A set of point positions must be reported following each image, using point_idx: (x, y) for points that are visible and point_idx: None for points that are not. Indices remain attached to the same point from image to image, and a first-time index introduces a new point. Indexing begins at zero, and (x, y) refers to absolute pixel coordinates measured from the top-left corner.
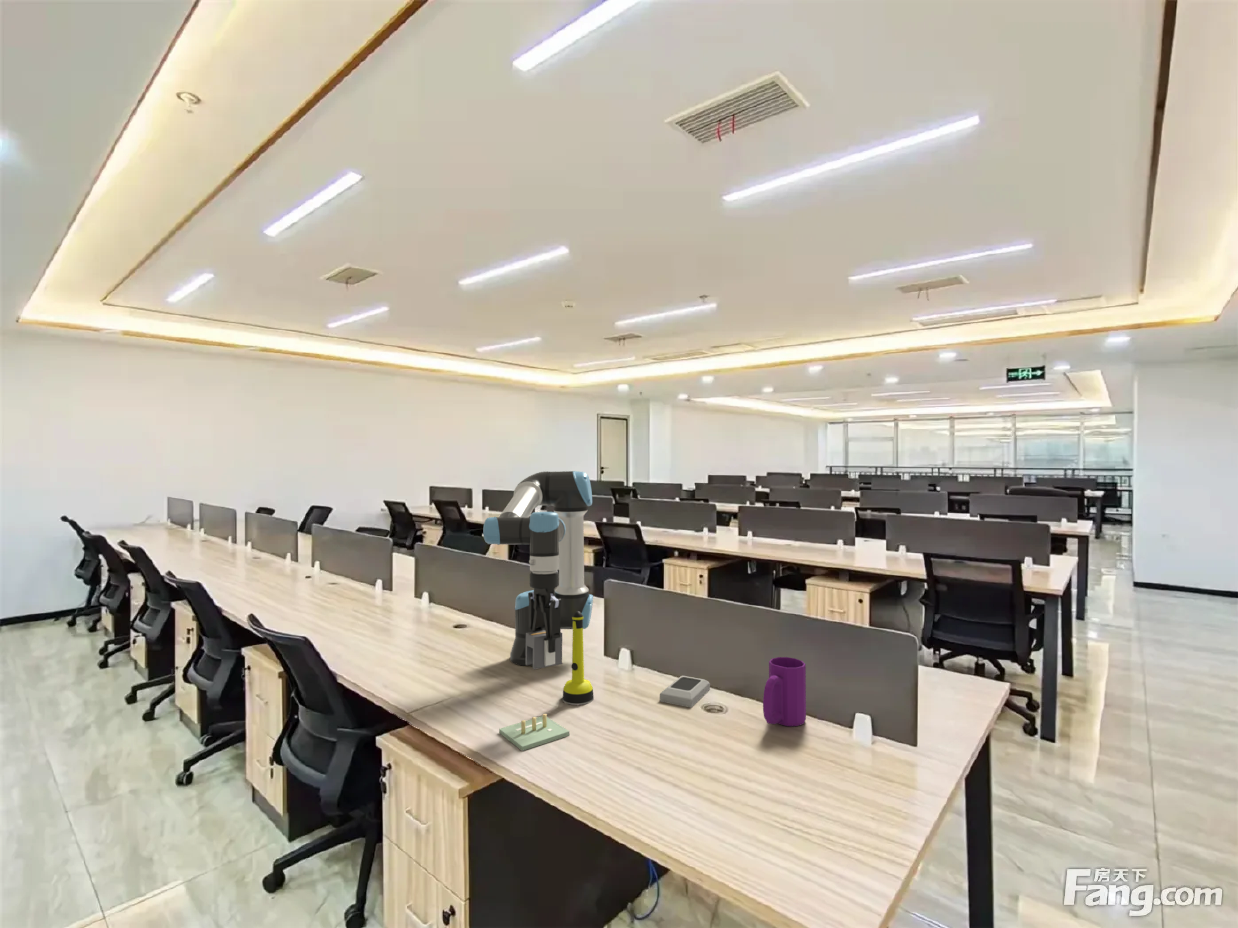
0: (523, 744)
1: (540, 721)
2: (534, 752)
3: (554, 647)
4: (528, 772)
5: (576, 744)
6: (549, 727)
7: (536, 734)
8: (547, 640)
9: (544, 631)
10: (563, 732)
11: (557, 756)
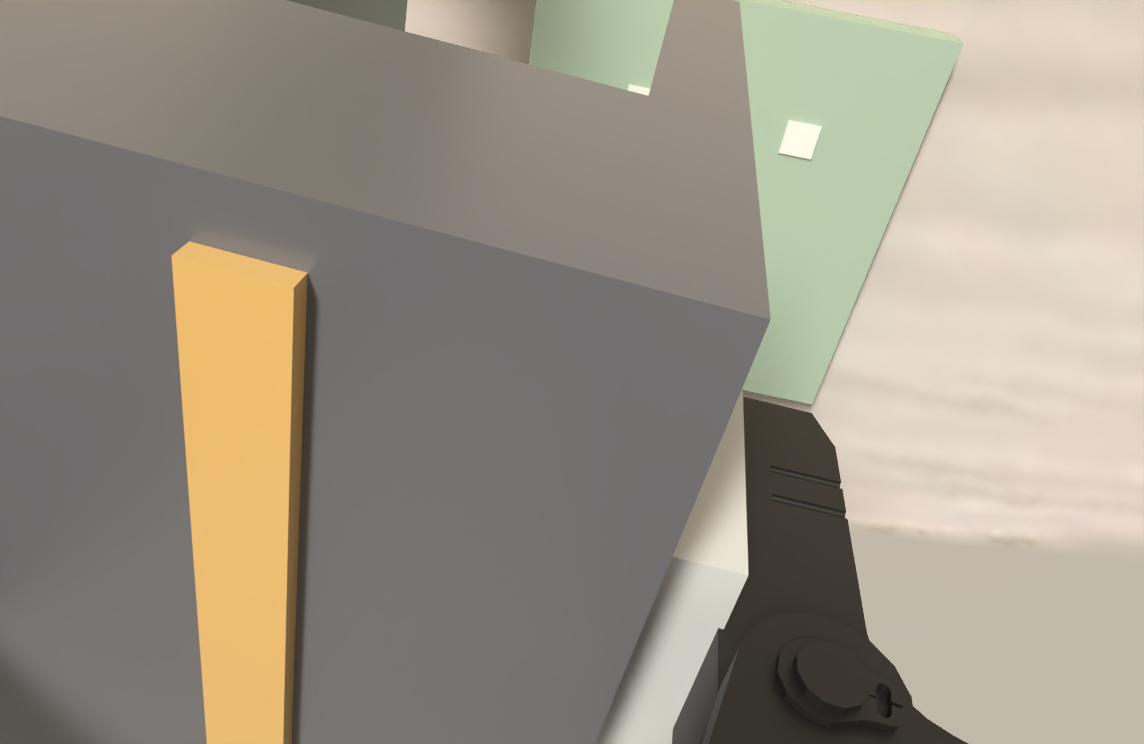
0: (796, 384)
1: (616, 78)
2: (887, 359)
3: (836, 515)
4: (1011, 505)
5: (1103, 109)
6: (761, 107)
7: (765, 250)
8: (672, 726)
9: (56, 562)
10: (928, 94)
11: (1065, 313)
